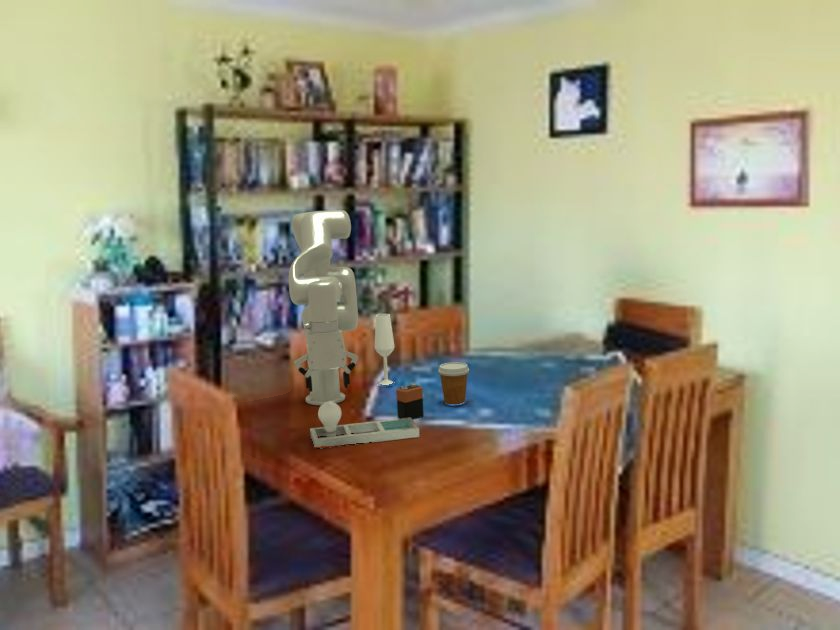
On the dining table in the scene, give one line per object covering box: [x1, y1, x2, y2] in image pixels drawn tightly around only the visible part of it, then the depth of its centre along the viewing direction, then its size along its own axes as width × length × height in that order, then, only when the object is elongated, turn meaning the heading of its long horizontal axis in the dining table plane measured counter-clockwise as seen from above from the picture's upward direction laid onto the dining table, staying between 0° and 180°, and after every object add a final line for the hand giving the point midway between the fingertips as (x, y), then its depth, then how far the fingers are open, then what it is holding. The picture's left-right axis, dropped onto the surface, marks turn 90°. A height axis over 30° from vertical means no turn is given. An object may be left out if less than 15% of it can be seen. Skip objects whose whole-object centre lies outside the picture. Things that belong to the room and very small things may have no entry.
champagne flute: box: [374, 313, 395, 385], centre depth 288 cm, size 7×7×24 cm
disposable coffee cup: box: [437, 361, 470, 404], centre depth 265 cm, size 10×10×12 cm
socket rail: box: [309, 417, 420, 448], centre depth 238 cm, size 10×29×2 cm, turn 103°
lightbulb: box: [317, 402, 342, 437], centre depth 235 cm, size 6×6×11 cm
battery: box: [396, 382, 424, 420], centre depth 253 cm, size 4×7×10 cm, turn 128°
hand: (328, 388), depth 233 cm, fingers open, 9 cm apart
